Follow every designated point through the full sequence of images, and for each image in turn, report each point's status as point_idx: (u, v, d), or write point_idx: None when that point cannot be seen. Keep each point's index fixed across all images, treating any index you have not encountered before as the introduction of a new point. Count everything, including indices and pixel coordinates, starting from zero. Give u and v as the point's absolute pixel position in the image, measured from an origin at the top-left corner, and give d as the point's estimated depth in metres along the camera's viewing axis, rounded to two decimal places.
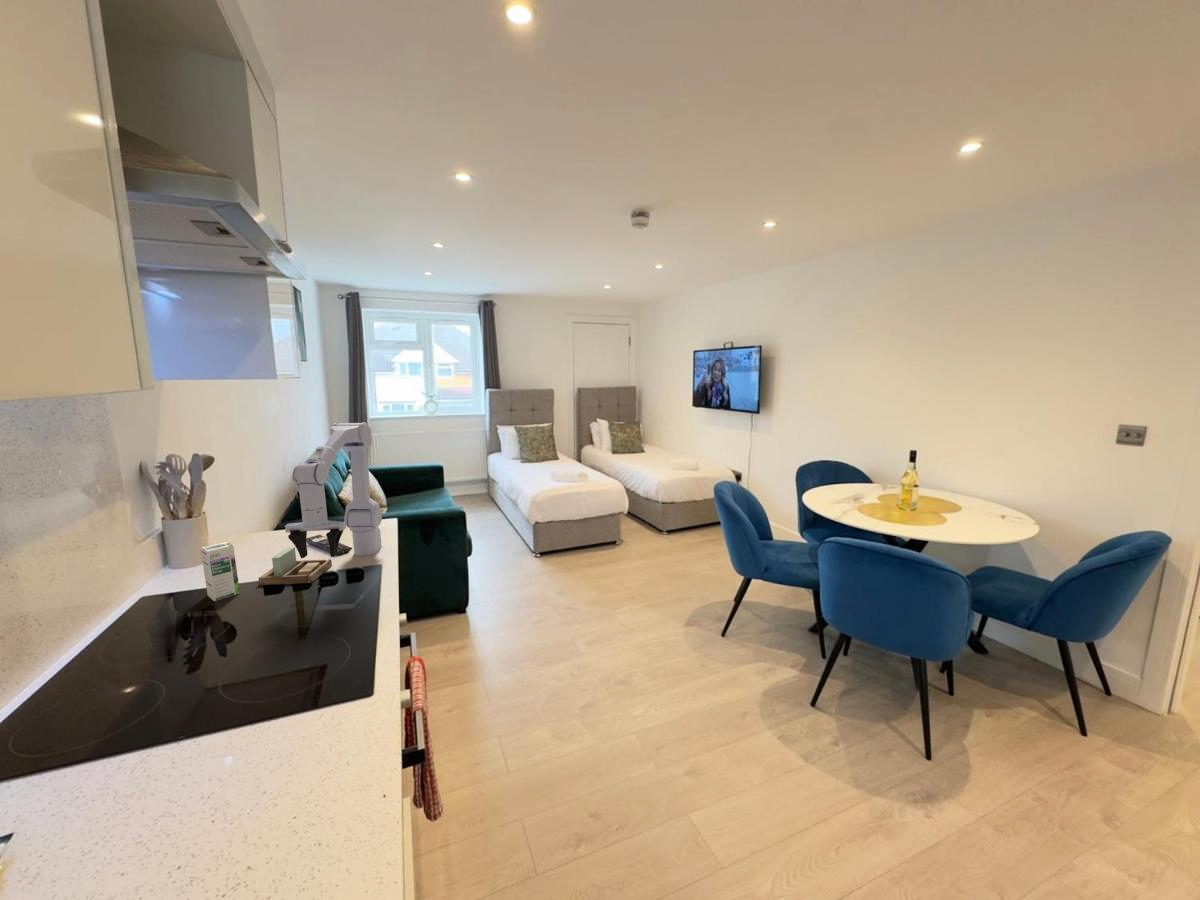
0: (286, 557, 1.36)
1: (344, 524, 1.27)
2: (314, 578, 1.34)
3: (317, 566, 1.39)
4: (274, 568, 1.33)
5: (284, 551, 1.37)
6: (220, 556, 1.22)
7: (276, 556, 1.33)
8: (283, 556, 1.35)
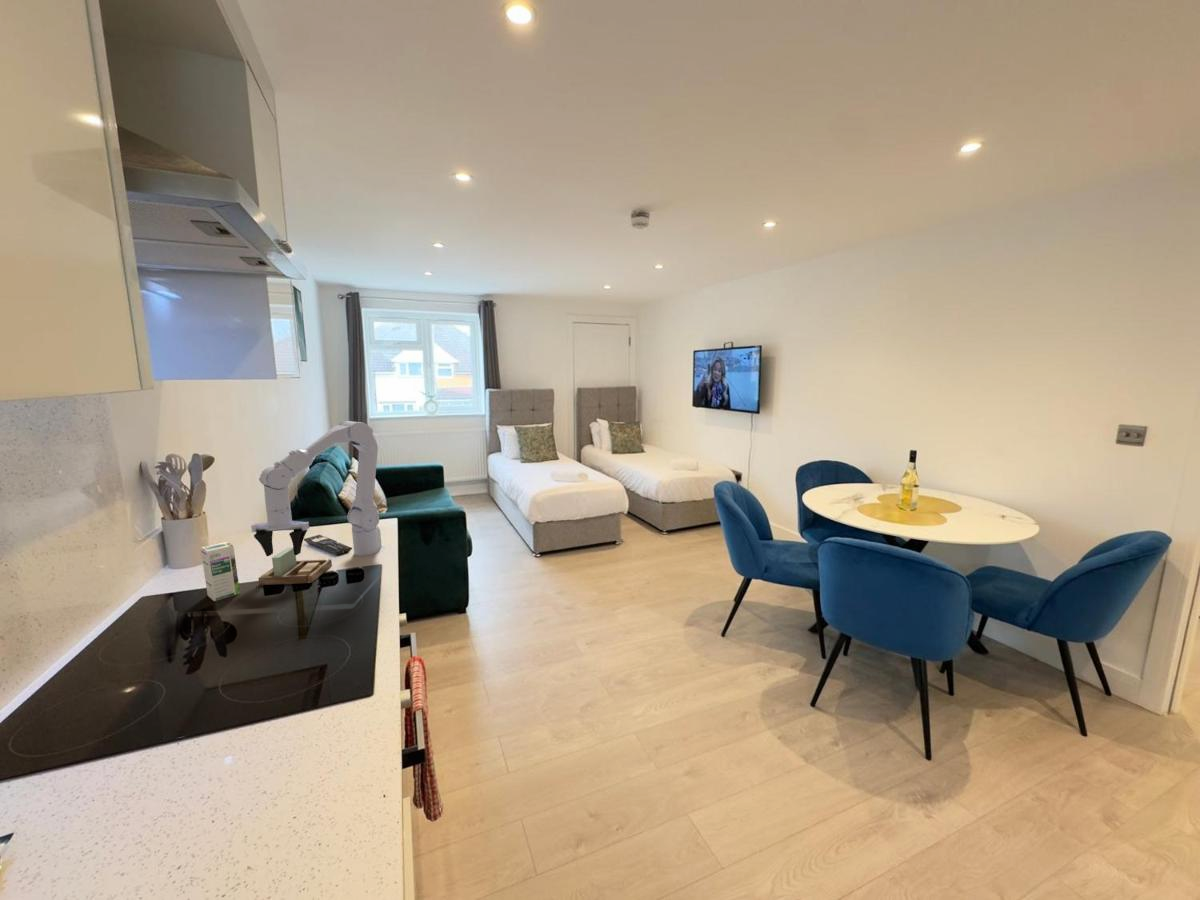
0: (286, 557, 1.36)
1: (307, 524, 1.36)
2: (314, 578, 1.34)
3: (317, 566, 1.39)
4: (274, 568, 1.33)
5: (284, 551, 1.37)
6: (220, 556, 1.22)
7: (276, 556, 1.33)
8: (283, 556, 1.35)
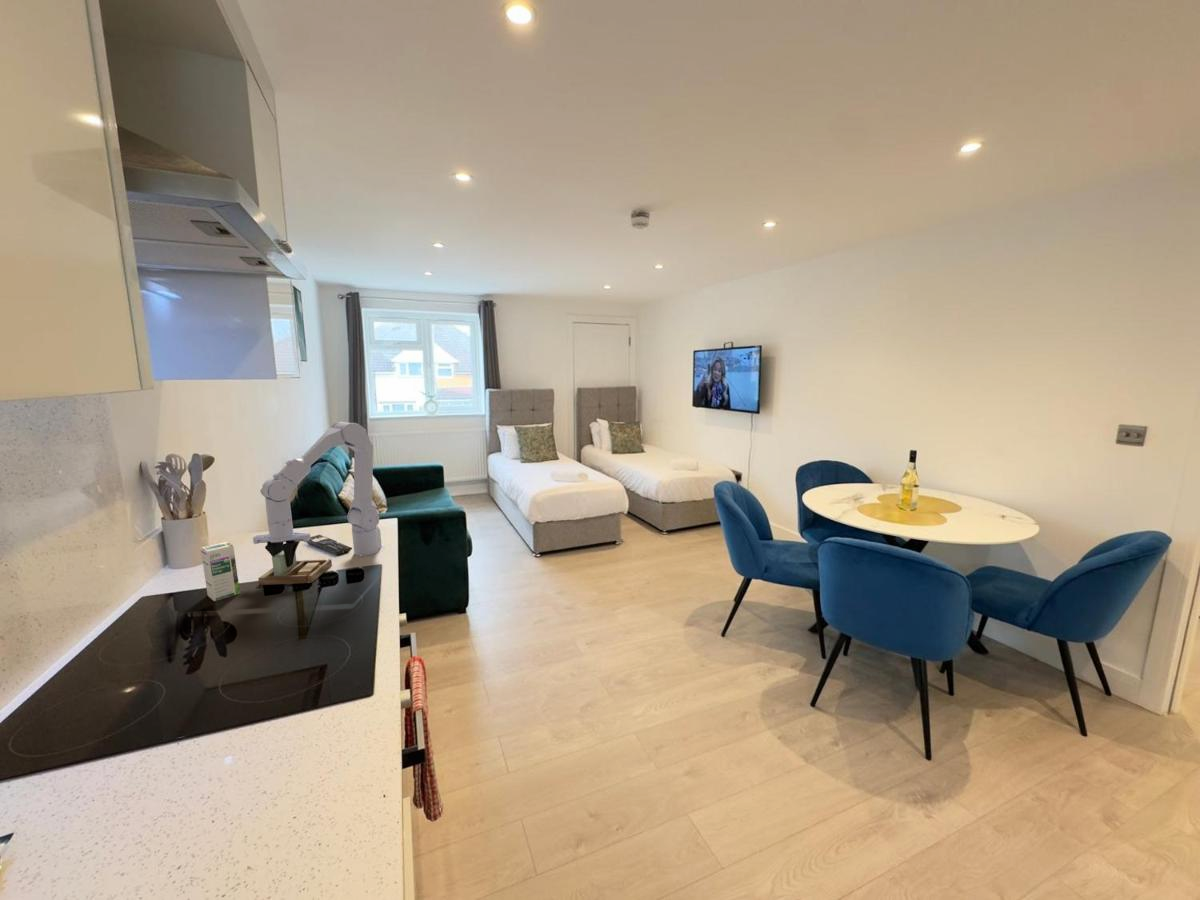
0: None
1: (308, 536, 1.37)
2: (314, 578, 1.34)
3: (317, 566, 1.39)
4: (274, 568, 1.33)
5: None
6: (220, 556, 1.22)
7: (276, 556, 1.33)
8: (283, 556, 1.35)
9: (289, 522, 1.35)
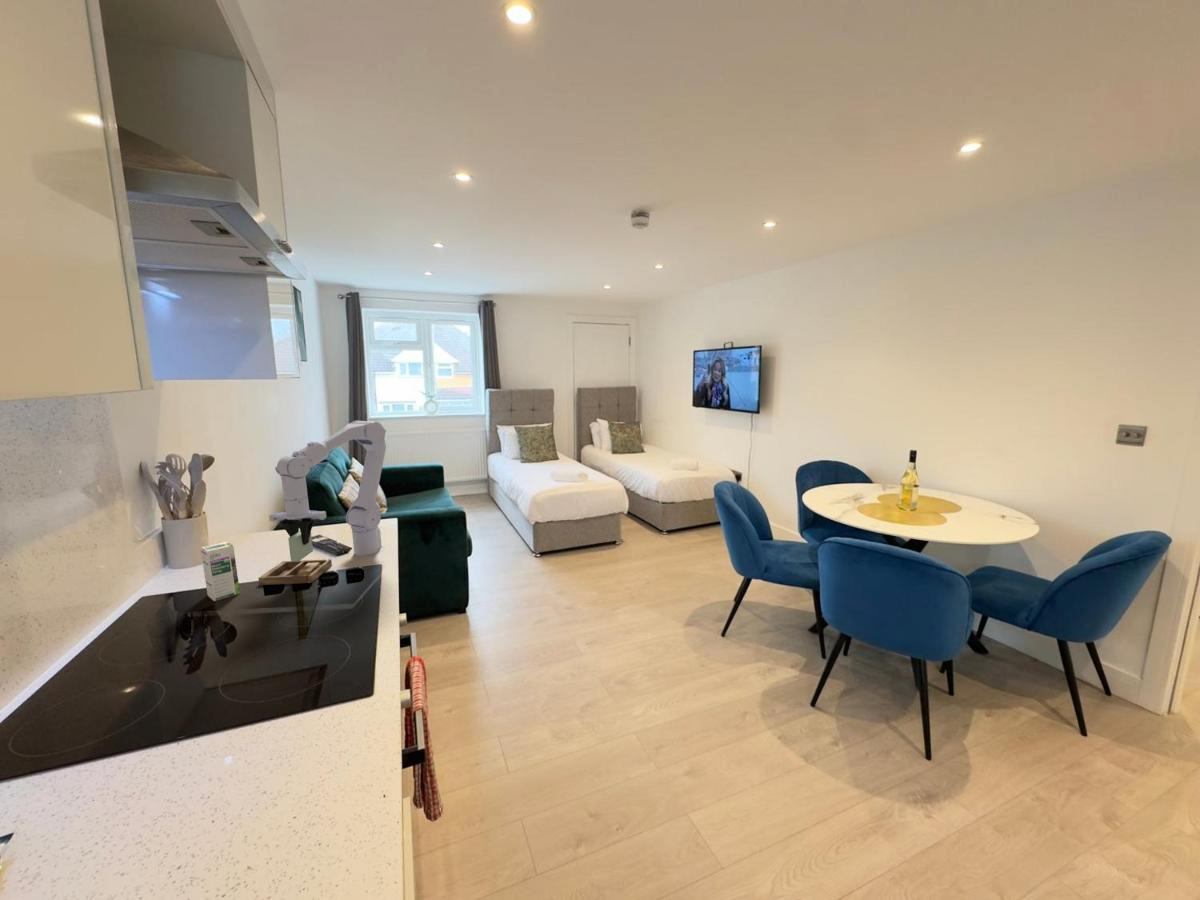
0: None
1: (324, 514, 1.36)
2: (314, 578, 1.34)
3: (317, 566, 1.39)
4: (290, 548, 1.33)
5: (300, 532, 1.37)
6: (220, 556, 1.22)
7: (292, 537, 1.33)
8: (299, 537, 1.34)
9: (305, 500, 1.34)
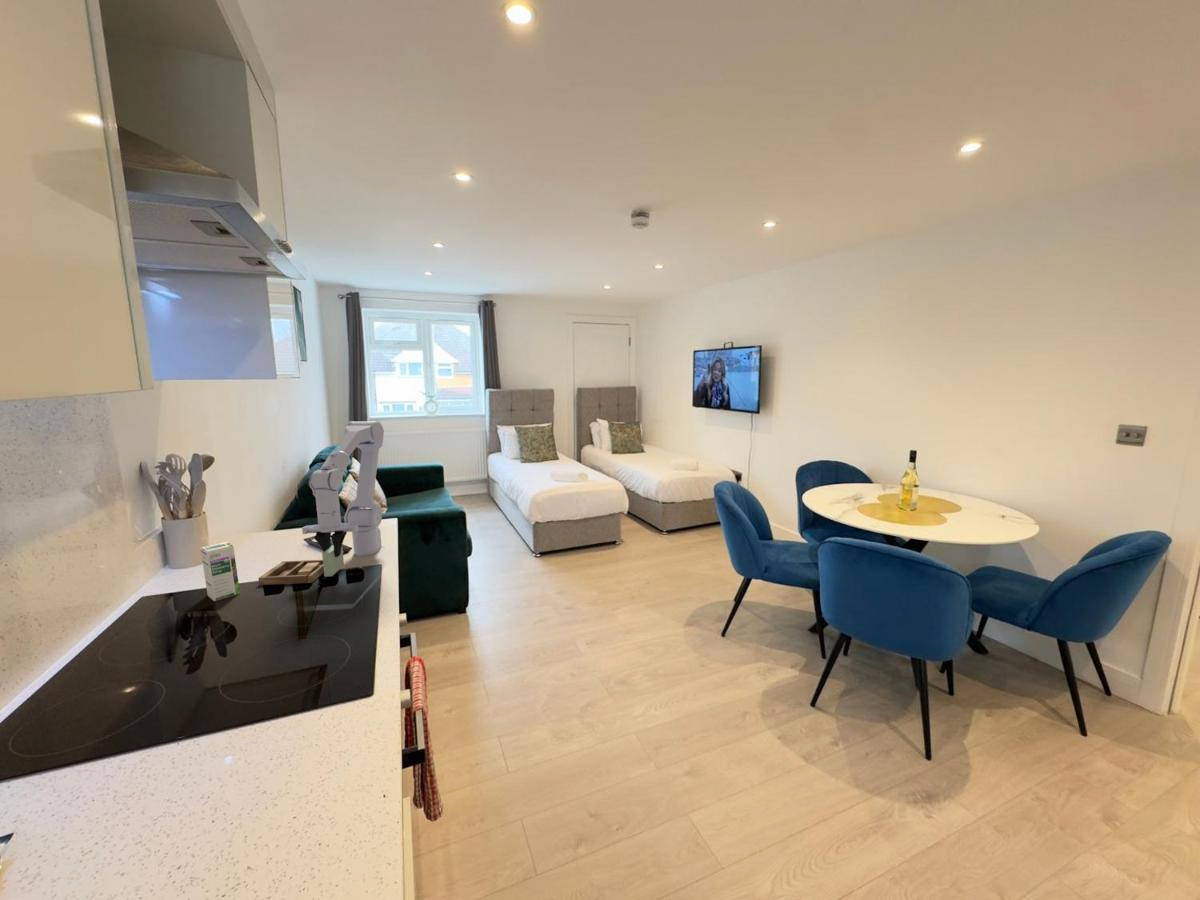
0: None
1: (356, 526, 1.38)
2: (314, 578, 1.34)
3: (317, 566, 1.39)
4: (324, 563, 1.34)
5: (332, 547, 1.38)
6: (220, 556, 1.22)
7: (326, 552, 1.35)
8: (333, 552, 1.36)
9: (338, 512, 1.36)
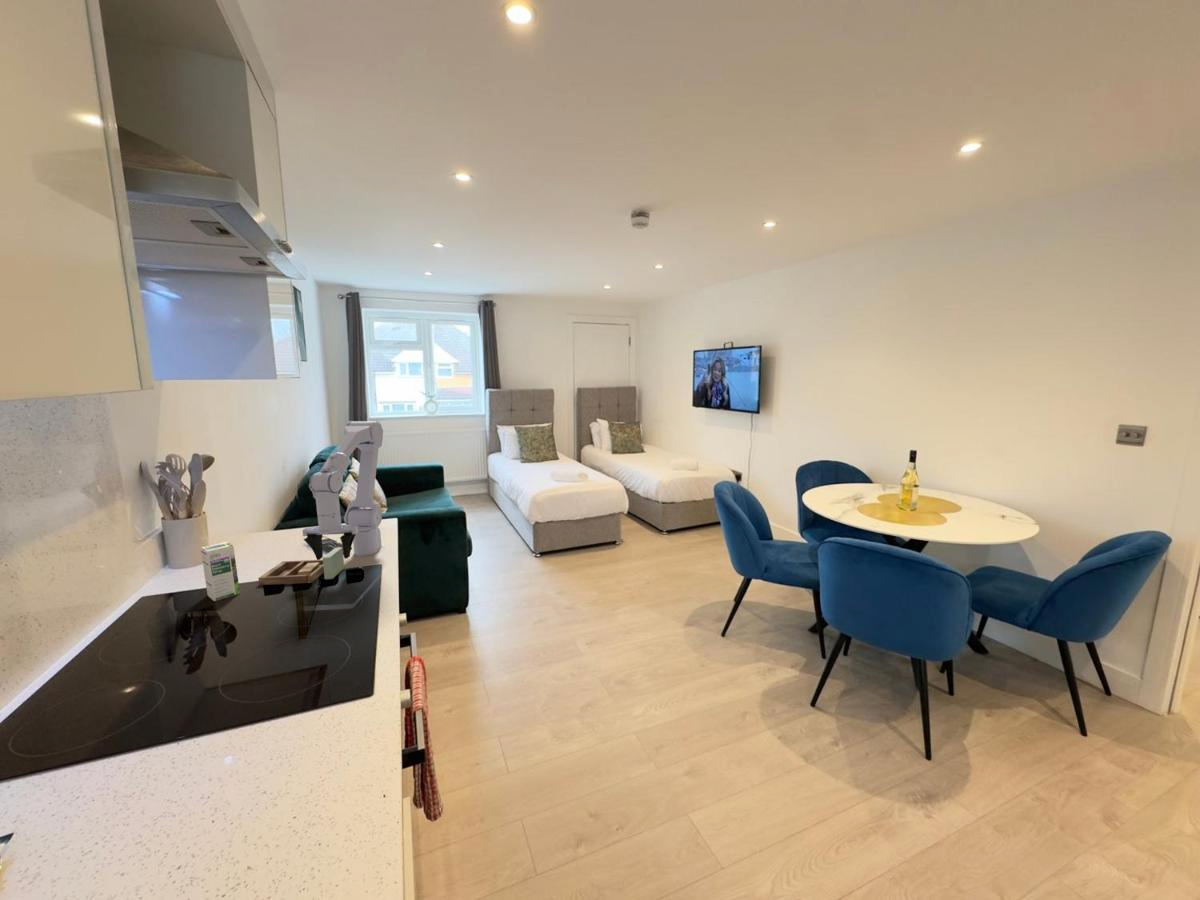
0: (335, 557, 1.37)
1: (357, 528, 1.38)
2: (314, 578, 1.34)
3: (317, 566, 1.39)
4: (324, 568, 1.34)
5: (333, 551, 1.38)
6: (220, 556, 1.22)
7: (326, 556, 1.35)
8: (333, 556, 1.36)
9: (338, 514, 1.36)
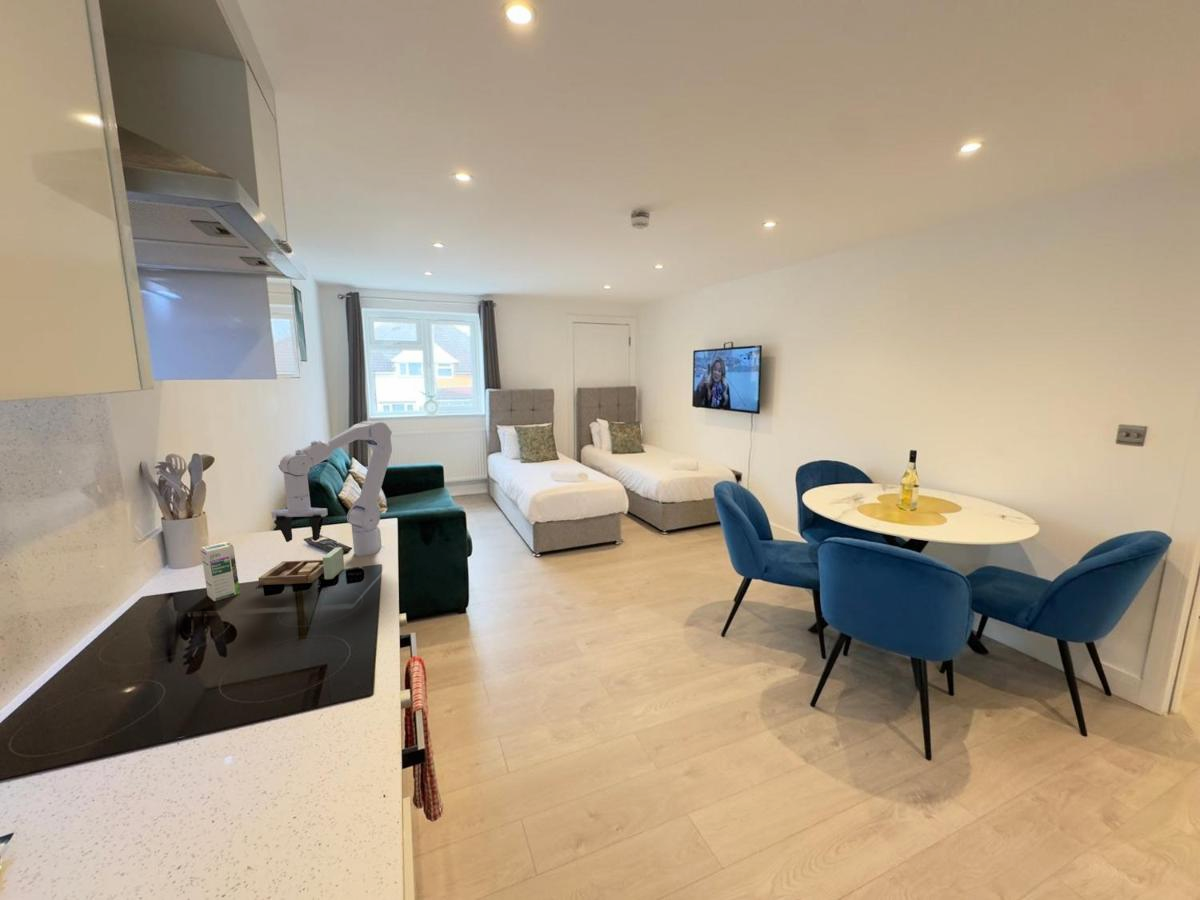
0: (335, 557, 1.37)
1: (326, 511, 1.39)
2: (314, 578, 1.34)
3: (317, 566, 1.39)
4: (324, 568, 1.34)
5: (333, 551, 1.38)
6: (220, 556, 1.22)
7: (326, 556, 1.35)
8: (333, 556, 1.36)
9: (307, 497, 1.37)
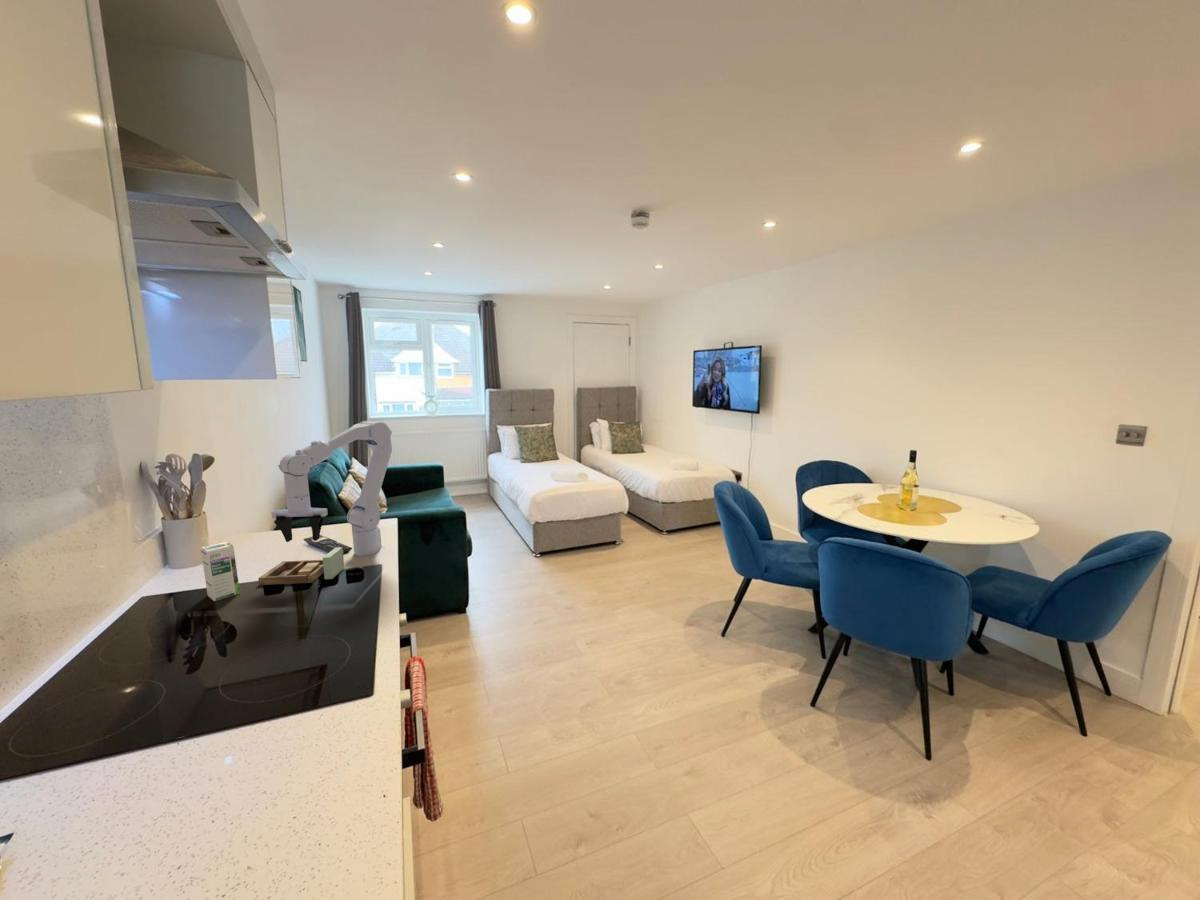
0: (335, 557, 1.37)
1: (326, 511, 1.39)
2: (314, 578, 1.34)
3: (317, 566, 1.39)
4: (324, 568, 1.34)
5: (333, 551, 1.38)
6: (220, 556, 1.22)
7: (326, 556, 1.35)
8: (333, 556, 1.36)
9: (307, 497, 1.37)
